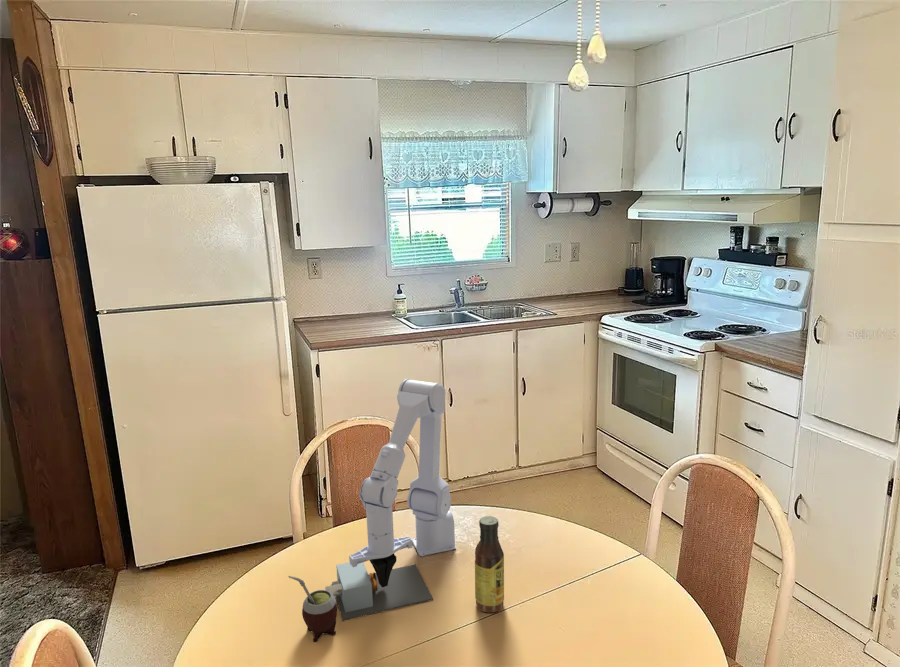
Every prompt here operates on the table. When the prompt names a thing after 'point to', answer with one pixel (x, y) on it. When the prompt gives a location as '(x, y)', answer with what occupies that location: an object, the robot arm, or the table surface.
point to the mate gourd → (319, 611)
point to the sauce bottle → (489, 567)
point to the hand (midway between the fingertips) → (383, 584)
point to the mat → (393, 593)
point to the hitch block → (354, 586)
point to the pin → (337, 588)
